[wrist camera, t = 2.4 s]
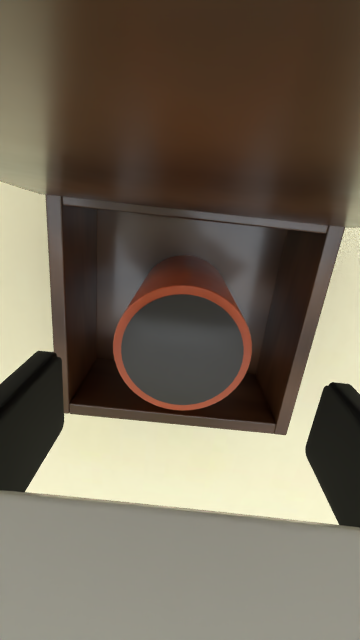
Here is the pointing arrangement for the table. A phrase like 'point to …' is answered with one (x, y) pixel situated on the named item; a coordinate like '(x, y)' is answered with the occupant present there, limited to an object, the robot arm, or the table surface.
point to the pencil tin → (182, 337)
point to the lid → (186, 104)
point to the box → (238, 274)
